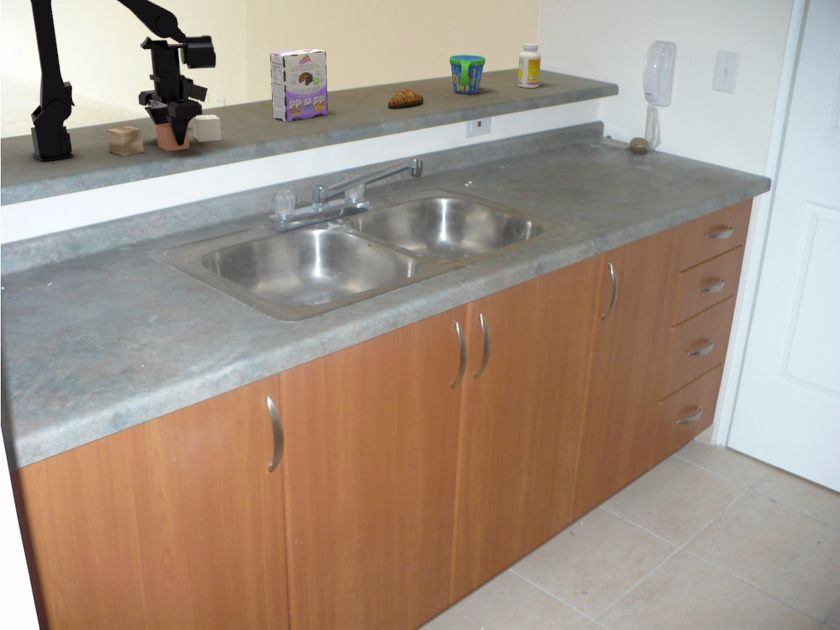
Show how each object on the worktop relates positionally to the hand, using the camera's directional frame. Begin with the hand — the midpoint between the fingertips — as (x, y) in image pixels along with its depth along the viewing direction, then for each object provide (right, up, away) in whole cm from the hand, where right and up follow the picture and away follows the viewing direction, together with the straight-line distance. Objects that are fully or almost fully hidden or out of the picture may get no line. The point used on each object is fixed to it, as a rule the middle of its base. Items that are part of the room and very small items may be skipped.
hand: (173, 142), depth 195 cm
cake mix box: (+24, +13, +33) cm, 42 cm away
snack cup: (+68, +29, +70) cm, 102 cm away
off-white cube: (+6, +2, +9) cm, 11 cm away
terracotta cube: (0, -1, 0) cm, 1 cm away
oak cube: (-9, -3, -4) cm, 10 cm away
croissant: (+51, +19, +50) cm, 73 cm away
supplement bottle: (+88, +33, +81) cm, 124 cm away
